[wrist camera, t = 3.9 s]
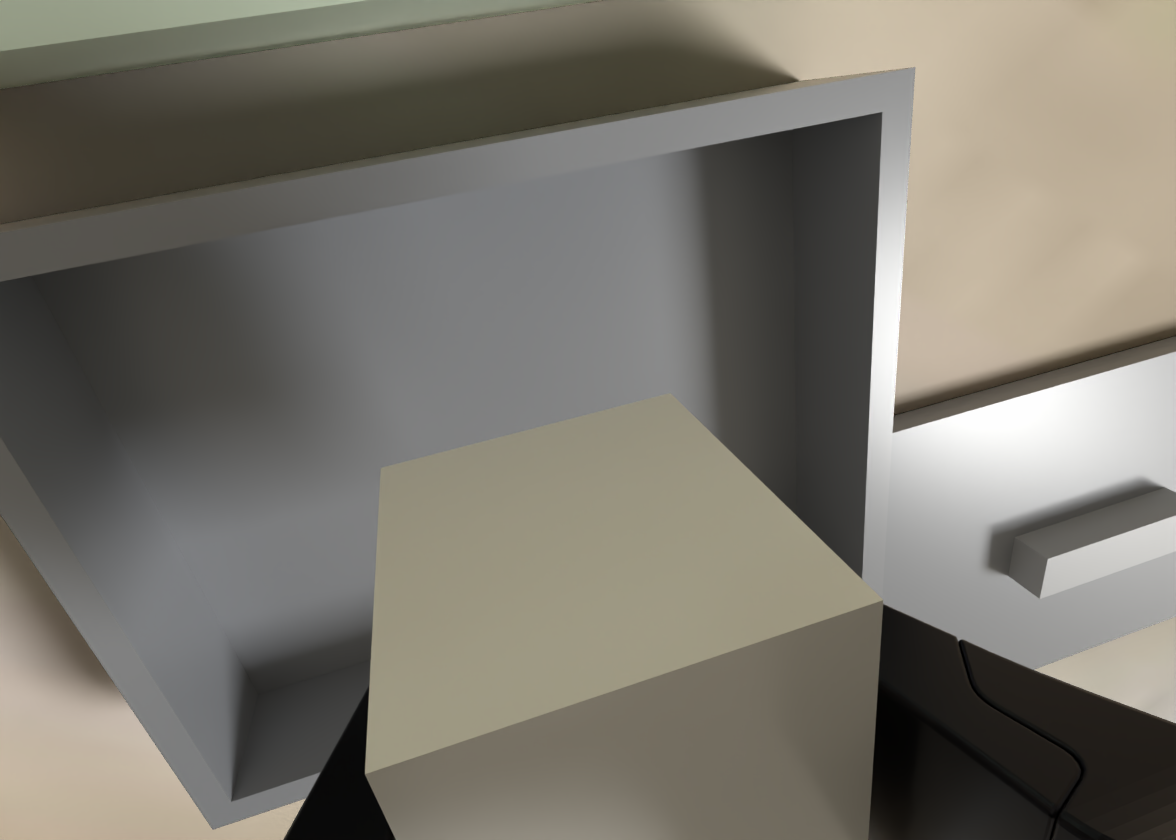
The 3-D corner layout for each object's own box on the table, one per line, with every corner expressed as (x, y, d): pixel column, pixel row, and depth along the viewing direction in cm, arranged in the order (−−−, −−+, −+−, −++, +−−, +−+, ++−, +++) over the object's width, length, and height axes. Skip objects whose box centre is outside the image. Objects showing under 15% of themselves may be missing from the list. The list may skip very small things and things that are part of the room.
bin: (246, 700, 17) (212, 829, 14) (-16, 227, 11) (-171, 263, 8) (804, 528, 19) (882, 603, 16) (802, 80, 14) (915, 67, 11)
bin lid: (855, 713, 24) (892, 759, 22) (867, 423, 18) (917, 454, 17) (1203, 585, 26) (1261, 617, 25) (1301, 300, 21) (1384, 315, 19)
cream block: (470, 729, 11) (514, 1090, 7) (380, 467, 8) (365, 774, 4) (698, 653, 11) (861, 939, 7) (670, 392, 9) (882, 600, 5)
